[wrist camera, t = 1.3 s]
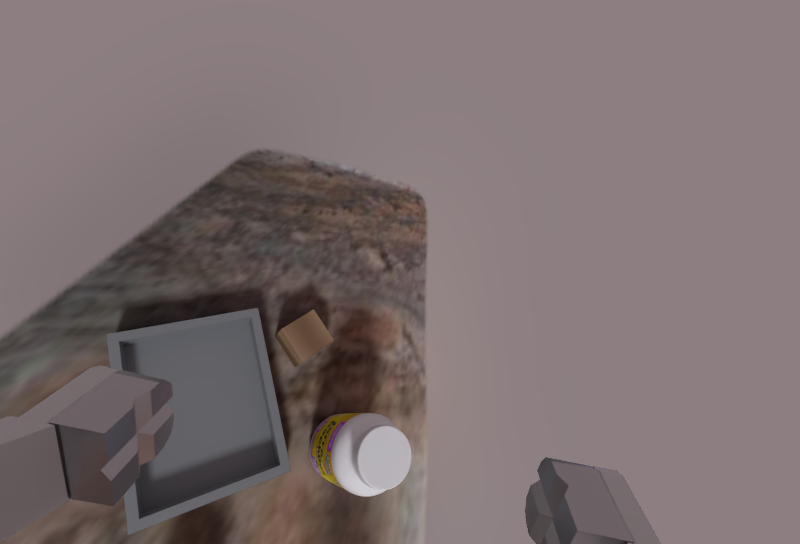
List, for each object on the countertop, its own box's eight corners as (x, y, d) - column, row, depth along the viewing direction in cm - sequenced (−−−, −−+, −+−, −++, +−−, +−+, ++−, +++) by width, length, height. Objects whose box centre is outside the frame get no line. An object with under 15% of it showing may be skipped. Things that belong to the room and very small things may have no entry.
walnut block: (294, 366, 42) (302, 362, 38) (274, 336, 42) (280, 329, 39) (324, 346, 44) (334, 340, 41) (305, 317, 44) (313, 309, 41)
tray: (134, 526, 32) (128, 535, 29) (113, 340, 36) (106, 334, 33) (285, 467, 38) (291, 470, 36) (254, 314, 42) (257, 307, 39)
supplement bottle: (315, 409, 41) (354, 404, 30) (371, 418, 44) (426, 417, 33) (301, 478, 38) (338, 501, 28) (361, 484, 41) (418, 507, 30)
